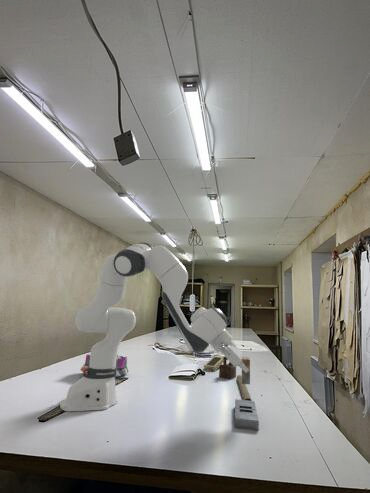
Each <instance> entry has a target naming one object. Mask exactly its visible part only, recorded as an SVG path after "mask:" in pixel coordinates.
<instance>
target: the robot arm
mask: <svg viewBox="0 0 370 493" xmlns="http://www.w3.org/2000/svg"><path fill="white" fill-rule="evenodd" d="M145 270H148V271H150V272H151V273H152V274H153V276H155V277H156V279H157V280H158V281H159V283H160V285H161V286H162V294H161V297H162V301H163V303H164V305H165V307H166V309H167V311H168V313H169V315H170V317H171V318H172V320H173V322H174V324H175V326H176V327H177V329H178V331H179V333H180V334H181V335H180V336H182V339H183V341H184V344H185V346H186V347H187V348H188V349H189V350H190V351H191V352H193V353H203V352H204V351H205V350H206V349H207V348H208V347H209V346H210V347H212V348H213V350H215V352H216V353H221V354H222V355H224V357H226V358H227V359H228V360H227V361H228V362H231V364H232V365H233V366H234V367H236V368H237V367H239V368H240V369H241V371H242V370H243V371H244V372H245V373H247V372H248V371H249V369H248V368H247V366H245V364H244V363H243V362H242V357H243V356H242V352H241V350H240V349H239V347H238V346H237V345H236V344H235V342H234V341H233V339H234V337H233V336H232V334H231V333H230V332H229V331H228V330H227V329H226V327H227V326H228V318H227V315H226V314H225V313H224V312H223V311H222V310H221V309H220V308H217V307H210V308H209V309H206V308H205V307H203V306H200V307H199V308H197V309H196V310H195V311H194V312H193V313H192V315H191V316H190V322H191V323H192V324H189V322H188V320H187V318H186V317H185V314H184V313H183V311H182V309H181V307H180V299H181V297H182V295H183V293H184V291H185V290H186V287H187V284H188V283H189V282H188V281H189V273H188V271H187V269H186V267H185V265H183V263H182V262H181V261H180V259H179V258H178V257H177V256H176V255H174V253H173V252H172V251H170V249H168V248H167V247H166V246H165V245H156V246H153V245H152V244H150V243H147V242H139V243H136V244H132V245H130V246H128V247H127V248H125V249H122V250H120V251H118V253H116V254H115V253H114V254H110V255H108V256H106V258H105V260H104V263H103V265H102V268H101V273H100V277H99V283H98V288H97V290H96V291H97V292H96V295H95V297H94V298H93V300H91V302H89V304H87V305H86V306H85V307H82V308H80V310H78V312H77V314H76V316H75V319H74V320H75V321H74V322H75V326H76V329H77V330H78V331H79V332H83V333H87V334H88V333H89V334H106V335H105V338H104V339H102V340H100V341H98V342H96V343H95V344H93V345H92V346H91V349H90V353H89V355H90V363H89V367H87V368H86V367H81V368H80V371H81V372H82V373H83V376H82V377H81V378H80V379H79V380H77V381H76V382H74V383H72V384H71V386H69V388H68V391H67V394H66V397H65V398H62V399H61V400H60V402H59V407H60V409H61V410H63V411H64V412H83V411H102V410H108V409H109V408H110V407H113V406H115V405H116V403H117V402H118V398H117V394H116V392H117V391H116V380H117V376H116V375H117V367H116V359H117V355H118V353H119V352H118V350H119V346H120V345H121V342H122V341H123V339H124V338H125V336H127V335H128V333H130V332H131V331H133V330H134V328H135V326H136V323H137V317H136V314H135V312H134V311H133V309H129V308H125V307H113V306H115V305H117V304H119V303H120V302H121V301H123V300H124V298H125V293H126V286H127V282H128V277H132V276H133V277H134V276H136V275H138V274H140V273H143V272H144V271H145Z"/></svg>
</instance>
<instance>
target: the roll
mask: <svg viewBox="0 0 370 493" xmlns="http://www.w3.org/2000/svg"><path fill="white" fill-rule="evenodd" d="M236 380H237V384H238V386H239V390H240V393H241V396H242V397H241V398H242V400H248V401H253V400H252V398H251V395H250V393H249V390H248V387H247V384H242V374H239V375H236Z"/></svg>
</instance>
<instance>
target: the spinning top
mask: <svg viewBox="0 0 370 493" xmlns="http://www.w3.org/2000/svg"><path fill="white" fill-rule="evenodd" d="M89 363H90V354H86V356H85V362H84V364H83V365H82V367H86V368H87V367H89ZM127 364H128V356H122V355H118V354H117V359H116V367H117V375H116V377H122V376H124V375H127V374H128V373H129V369H128V365H127ZM82 367H81V368H82Z"/></svg>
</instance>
